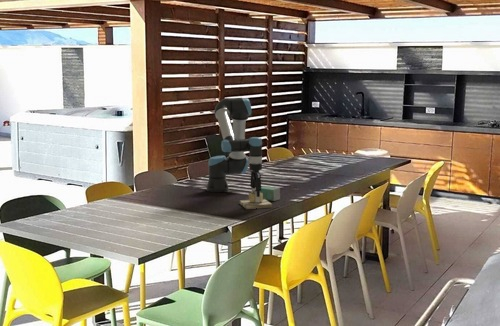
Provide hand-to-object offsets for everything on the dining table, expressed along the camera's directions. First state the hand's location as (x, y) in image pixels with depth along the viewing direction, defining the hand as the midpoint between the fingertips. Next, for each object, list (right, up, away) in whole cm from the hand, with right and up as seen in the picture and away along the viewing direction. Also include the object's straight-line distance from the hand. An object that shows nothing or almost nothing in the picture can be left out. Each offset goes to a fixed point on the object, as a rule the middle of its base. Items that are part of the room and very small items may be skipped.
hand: (255, 200), depth 362 cm
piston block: (0, -3, 0) cm, 3 cm away
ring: (0, 0, 0) cm, 0 cm away
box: (+8, -1, +20) cm, 21 cm away
